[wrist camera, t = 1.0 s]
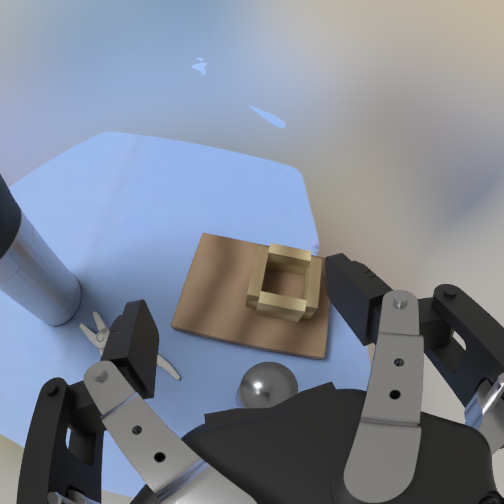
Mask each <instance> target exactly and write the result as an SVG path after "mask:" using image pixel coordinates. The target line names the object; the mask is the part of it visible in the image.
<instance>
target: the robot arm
mask: <svg viewBox="0 0 504 504" xmlns="http://www.w3.org/2000/svg"><path fill="white" fill-rule="evenodd" d="M325 285H326V293H327V296H328V298H329V300H330V301H331V303H332V304H333V305H334V307H335V308H336V309H337V311H338V312H339V313H340V315H341V316H342V317H343V319H344V320H345V321H346V323H347V324H348V325H349V327H350V328H351V329H352V331H353V332H354V333H355V335H356V336H357V338H358V339H359V340H360V342H361V343H362V344H363V346H366V345H368V344H371V343H374V344H375V345H376V347H375V352H374V357H373V362H372V367H371V372H370V377H369V382H368V386H367V390H366V391H363V390H357V389H336V388H335V387H334V385H333V383H332V382H329V383H326V384H323V385H320V386H317V387H314V388H311V389H308V390H305V391H302V392H300V393H298V394H296V395H294V396H293V397H291V398H289V399H287V400H285V401H283V402H281V403H279V404H277V405H275V406H273V407H270V408H236V409H231V410H226V411H220V412H215V413H209V414H204V415H205V424H202V425H200V426H198V427H196V428H194V429H193V430H191V431H190V432H188V433H187V434H186V435H185V436H183V437H182V438H181V439H180V438H179V437H178V436H177V435H176V434H175V433H174V432H173V431H172V430H171V429H170V428H169V427H168V426H167V425H166V424H165V423H164V422H163V421H162V420H161V419H160V418H159V417H158V416H157V414H156V413H155V412H154V411H153V410H152V409H151V408H150V407H149V406H148V404H147V403H146V402H145V401H144V399H149V398H154V389H155V377H156V365H157V355H158V346H159V334H158V330H157V327H156V325H155V323H154V320H153V318H152V316H151V314H150V311H149V309H148V307H147V304H146V302H145V301H144V300H143V299H142V300H137V301H133V302H128V303H127V304H126V306H125V309H124V312H123V315H120V316H118V317H117V319H116V320H115V321H114V322H113V324H112V326H111V329H110V333H109V335H108V338H107V339H108V340H107V341H106V344H105V347H104V351H103V354H102V357H101V360H100V362H97V363H95V364H93V365H92V366H91V367H90V368H89V369H88V370H87V371H86V373H85V375H84V380H83V381H80V382H78V383H75V384H72V385H68V384H67V383H66V382H65V380H64V379H62V378H59V377H58V378H53V379H51V380H49V381H47V382H46V383H45V384H44V385H43V387H42V389H41V391H40V394H39V397H38V400H37V403H36V406H35V410H34V413H33V417H32V420H31V424H30V428H29V432H28V436H27V440H26V444H25V449H24V454H23V459H22V464H21V470H20V477H19V484H18V493H17V504H101V472H102V450H103V437H104V431H106V430H108V432H109V433H110V435H111V436H112V438H113V439H114V441H115V442H116V444H117V445H118V447H119V448H120V450H121V451H122V452H123V454H124V455H125V457H126V458H127V459H128V461H129V462H130V463H131V465H132V466H133V467H134V469H135V470H136V471H137V472H138V474H139V475H140V476H141V477H142V479H143V480H144V481H145V482H146V484H145V485H144V487H143V488H142V489H141V490H140V492H139V493H138V494H137V495H136V497H135V498H134V499H133V500H132V501H131V503H130V504H504V498H503V497H502V496H501V495H500V494H499V493H498V491H497V489H496V486H495V482H494V477H493V470H492V454H494V453H495V452H496V451H497V450H498V449H502V448H504V328H503V327H502V326H501V325H500V324H499V323H498V322H497V321H496V320H495V319H494V318H493V317H492V316H491V315H490V314H489V313H487V312H486V311H485V310H484V309H483V308H482V307H481V306H480V305H479V304H477V303H476V302H475V301H474V300H473V299H472V298H471V297H469V296H468V295H467V294H466V293H465V292H463V291H462V290H461V289H460V288H458V287H457V286H454V285H450V284H442V285H439V286H437V287H436V288H435V290H434V294H433V297H431V298H423V299H417V298H416V297H415V296H414V295H413V294H412V293H410V292H407V291H404V290H393V289H391V288H390V287H389V286H388V285H387V284H386V283H385V282H384V281H382V280H381V279H380V278H379V277H378V276H376V274H375V273H373V272H371V270H370V269H369V268H368V267H367V266H365V265H364V264H361V263H359V262H356V261H351V260H350V259H348V258H347V257H346V256H345V255H344V254H343V253H339V254H336V255H332V256H328V257H326V258H325ZM0 289H1V290H2V291H3V292H4V293H6V294H7V295H8V296H9V297H11V298H12V299H13V300H14V301H16V302H17V303H18V304H20V305H21V306H22V307H24V308H25V309H27V310H28V311H29V312H31V313H32V314H33V315H35V316H36V317H38V318H39V319H41V320H42V321H44V322H45V323H47V324H49V325H52V326H59V325H62V324H64V323H66V322H67V321H68V320H70V319H71V318H72V317H73V315H74V314H75V312H76V311H77V309H78V306H79V303H80V299H81V288H80V284H79V282H78V280H77V279H76V278H75V277H74V275H73V274H72V273H71V272H70V271H69V270H68V269H67V268H66V266H65V265H64V264H63V263H62V262H61V260H60V259H59V258H58V257H57V256H56V255H55V253H54V252H53V251H52V250H51V248H50V247H49V246H48V245H47V243H46V242H45V241H44V240H43V238H42V237H41V236H40V234H39V233H38V232H37V231H36V229H35V228H34V227H33V225H32V224H31V223H30V221H29V220H28V219H27V217H26V216H25V214H24V213H23V211H22V210H21V209H20V207H19V206H18V204H17V203H16V201H15V200H14V198H13V196H12V194H11V193H10V191H9V189H8V187H7V185H6V183H5V181H4V179H3V178H2V176H1V174H0ZM454 331H456V332H457V333H458V334H459V335H460V336H461V338H462V339H463V340H464V342H465V344H466V351H465V350H464V349H463V348H462V346H461V345H460V344H459V343H458V342H457V341H456V340H455V339H454V338H453V333H454ZM424 353H425V354H426V356H427V357H428V358H429V359H430V361H431V362H432V363H433V365H434V366H435V367H436V369H437V370H438V371H439V373H440V374H441V375H442V377H443V378H444V379H445V381H446V382H447V383H448V385H449V386H450V387H451V388H452V390H453V391H454V393H455V394H456V396H457V397H458V399H459V400H460V401H461V403H462V404H463V406H464V407H465V420H466V422H465V425H464V424H460V423H457V422H454V421H450V420H447V419H444V418H441V417H437V416H434V415H431V414H428V413H425V412H422V411H421V401H422V387H423V365H424V364H423V363H424ZM67 428H69V429H70V430H71V434H70V441H69V447H68V448H67V446H66V434H67Z"/></svg>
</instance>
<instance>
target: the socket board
mask: <svg viewBox="0 0 504 504" xmlns="http://www.w3.org/2000/svg"><path fill="white" fill-rule="evenodd" d="M311 253H312V252H311V251H306V250H302V249H297V248H292V247H287V246H283V245H278V244H273V243H270V246H266V245H261V244H256V243H251V242H246V241H241V240H237V239H232V238H227V237H222V236H217V235H212V234H207V233H203V234H202V236H201V239H200V242H199V245H198V247H197V250H196V253H195V256H194V258H193V261H192V264H191V267H190V270H189V273H188V275H187V278H186V281H185V284H184V287H183V290H182V293H181V296H180V299H179V302H178V305H177V308H176V311H175V314H174V317H173V320H172V324H171V326H172V328H173V329H176V330H179V331H183V332H187V333H190V334H194V335H198V336H202V337H206V338H210V339H214V340H218V341H223V342H227V343H231V344H236V345H240V346H245V347H250V348H255V349H260V350H265V351H270V352H276V353H281V354H287V355H293V356H299V357H305V358H312V359H319V360H321V359H323V358H324V357H325V349H326V340H327V330H328V320H329V308H330V300H329V298H328V296H327V293H326V285H325V258H323V257H318V256H313V255H311Z"/></svg>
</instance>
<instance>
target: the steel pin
mask: <svg viewBox="0 0 504 504" xmlns="http://www.w3.org/2000/svg"><path fill="white" fill-rule="evenodd" d="M296 394H298V385H297V381H296V378H295V376H294V375H293V373H292V372H291V371H290V370H289V369H288V368H287V367H285V366H283V365H281V364H279V363H275V362H263V363H260V364H257V365H255V366H253V367H252V368H250V369H249V370H248V371H247V372H246V374H245V375H244V377H243V379H242V381H241V383H240V386H239V388H238V391H237V394H236V402H237V404H238V406H239V407H240V408H270V407H273V406H275V405H277V404H279V403H281V402H283V401H285V400H287V399H289V398H291V397H293V396H294V395H296Z"/></svg>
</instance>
